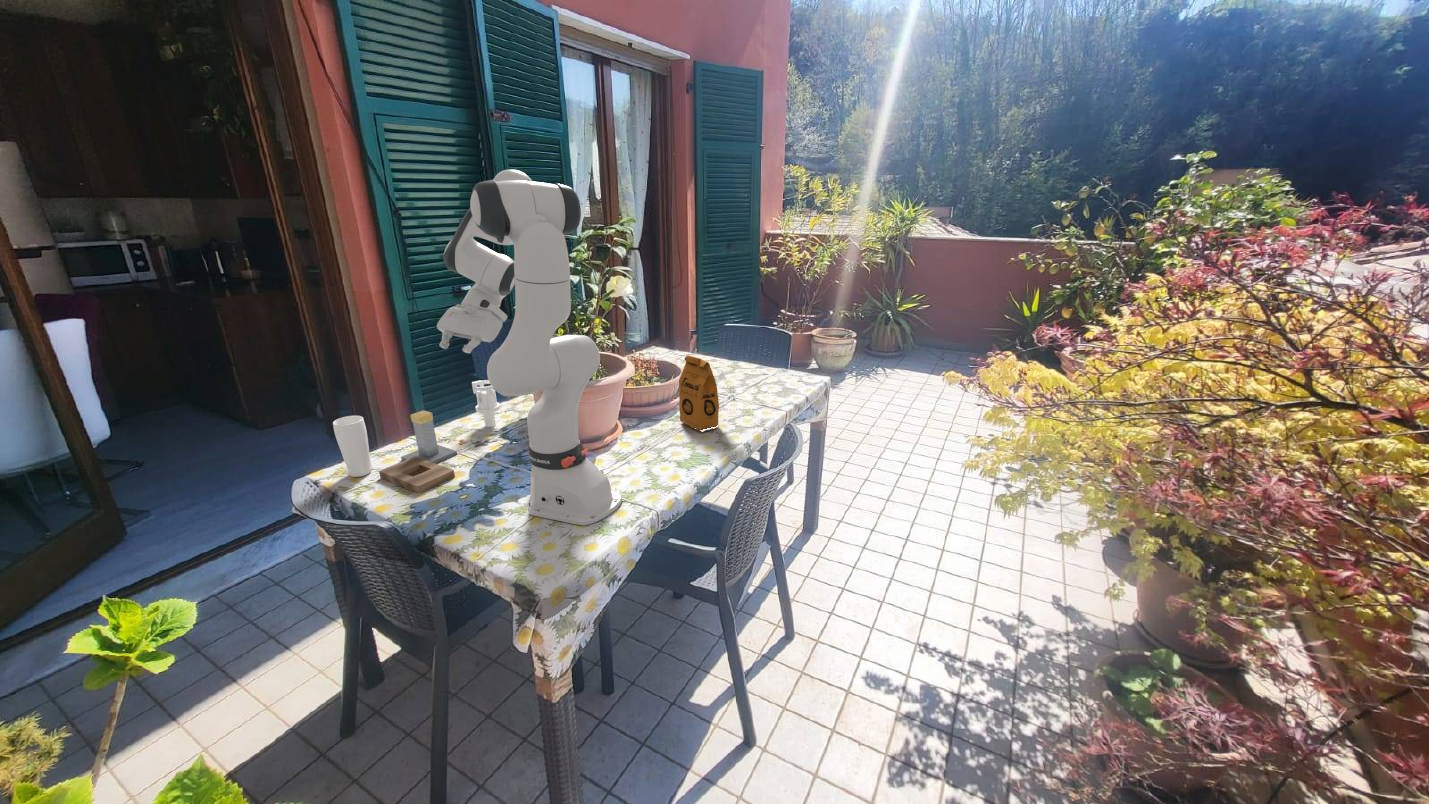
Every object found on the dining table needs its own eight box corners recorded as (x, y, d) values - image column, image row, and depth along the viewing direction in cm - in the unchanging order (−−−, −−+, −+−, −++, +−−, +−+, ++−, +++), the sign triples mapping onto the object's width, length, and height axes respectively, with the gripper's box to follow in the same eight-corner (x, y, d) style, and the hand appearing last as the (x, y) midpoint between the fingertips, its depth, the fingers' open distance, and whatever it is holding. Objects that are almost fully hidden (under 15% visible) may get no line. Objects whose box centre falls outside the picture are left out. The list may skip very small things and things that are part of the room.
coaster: (457, 454, 159) (456, 451, 159) (424, 468, 151) (423, 465, 150) (434, 446, 164) (433, 443, 163) (401, 460, 155) (400, 456, 155)
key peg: (439, 453, 157) (432, 412, 153) (427, 458, 154) (419, 417, 150) (430, 450, 159) (423, 410, 155) (418, 455, 156) (410, 414, 152)
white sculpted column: (475, 424, 179) (468, 379, 174) (498, 419, 183) (492, 375, 178) (482, 431, 174) (475, 385, 169) (505, 426, 178) (499, 380, 173)
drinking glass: (340, 475, 147) (326, 422, 142) (365, 465, 153) (353, 413, 147) (355, 481, 144) (342, 427, 139) (381, 470, 150) (369, 418, 144)
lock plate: (454, 476, 147) (453, 470, 146) (419, 493, 138) (417, 486, 138) (416, 462, 154) (415, 456, 153) (380, 478, 146) (378, 471, 145)
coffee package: (697, 435, 172) (697, 366, 164) (675, 423, 181) (674, 356, 173) (723, 428, 177) (724, 360, 169) (701, 416, 186) (700, 351, 179)
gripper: (446, 297, 159) (420, 338, 154) (496, 304, 149) (470, 348, 145) (462, 310, 164) (438, 350, 160) (512, 317, 155) (487, 361, 150)
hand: (454, 349), depth 152 cm, fingers open, 8 cm apart
